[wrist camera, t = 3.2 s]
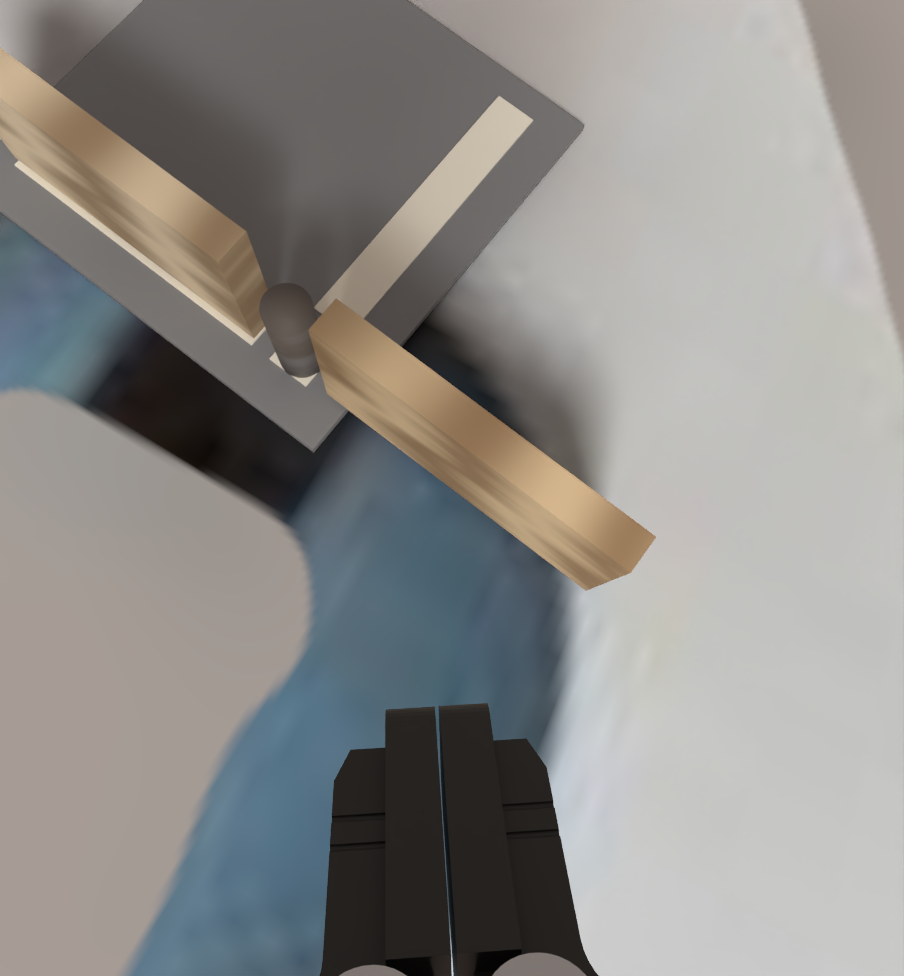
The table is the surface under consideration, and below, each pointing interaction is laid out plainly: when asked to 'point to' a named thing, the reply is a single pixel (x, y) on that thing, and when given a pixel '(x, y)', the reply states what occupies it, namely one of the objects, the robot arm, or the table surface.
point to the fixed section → (152, 213)
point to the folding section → (474, 452)
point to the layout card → (302, 168)
